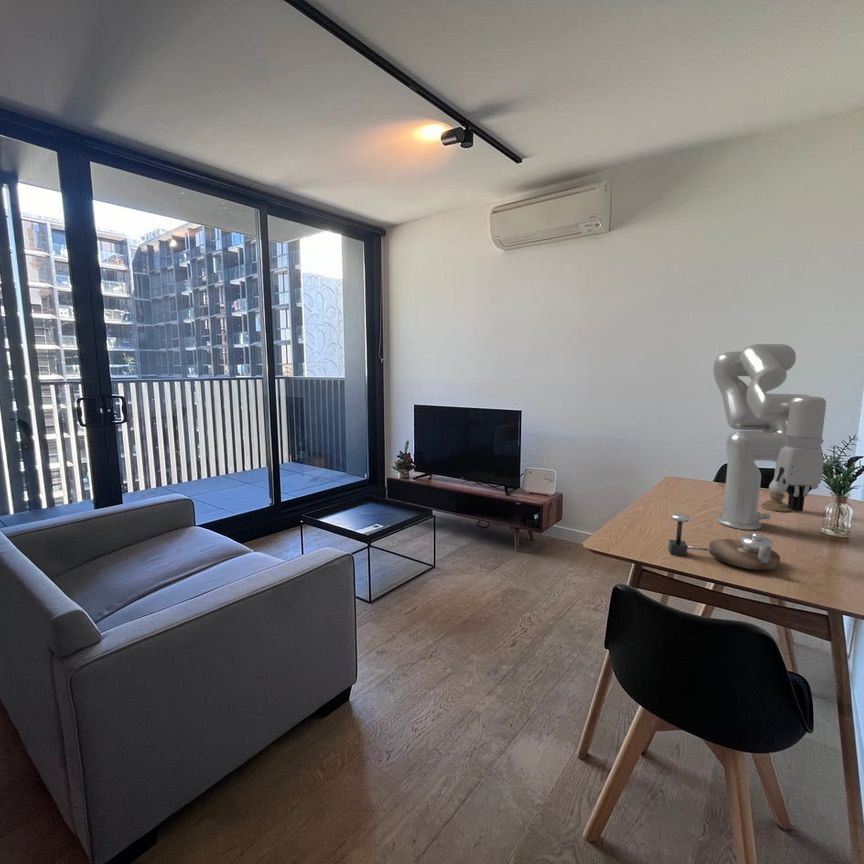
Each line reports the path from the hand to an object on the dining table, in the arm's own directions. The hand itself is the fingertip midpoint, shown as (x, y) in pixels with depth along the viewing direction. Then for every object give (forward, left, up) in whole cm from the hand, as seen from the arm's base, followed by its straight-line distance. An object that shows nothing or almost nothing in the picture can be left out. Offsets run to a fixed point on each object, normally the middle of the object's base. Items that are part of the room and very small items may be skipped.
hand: (794, 509), depth 125 cm
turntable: (+13, 0, -13) cm, 19 cm away
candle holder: (-33, -44, -15) cm, 57 cm away
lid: (+9, 0, -12) cm, 15 cm away
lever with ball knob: (+25, -5, -15) cm, 30 cm away
